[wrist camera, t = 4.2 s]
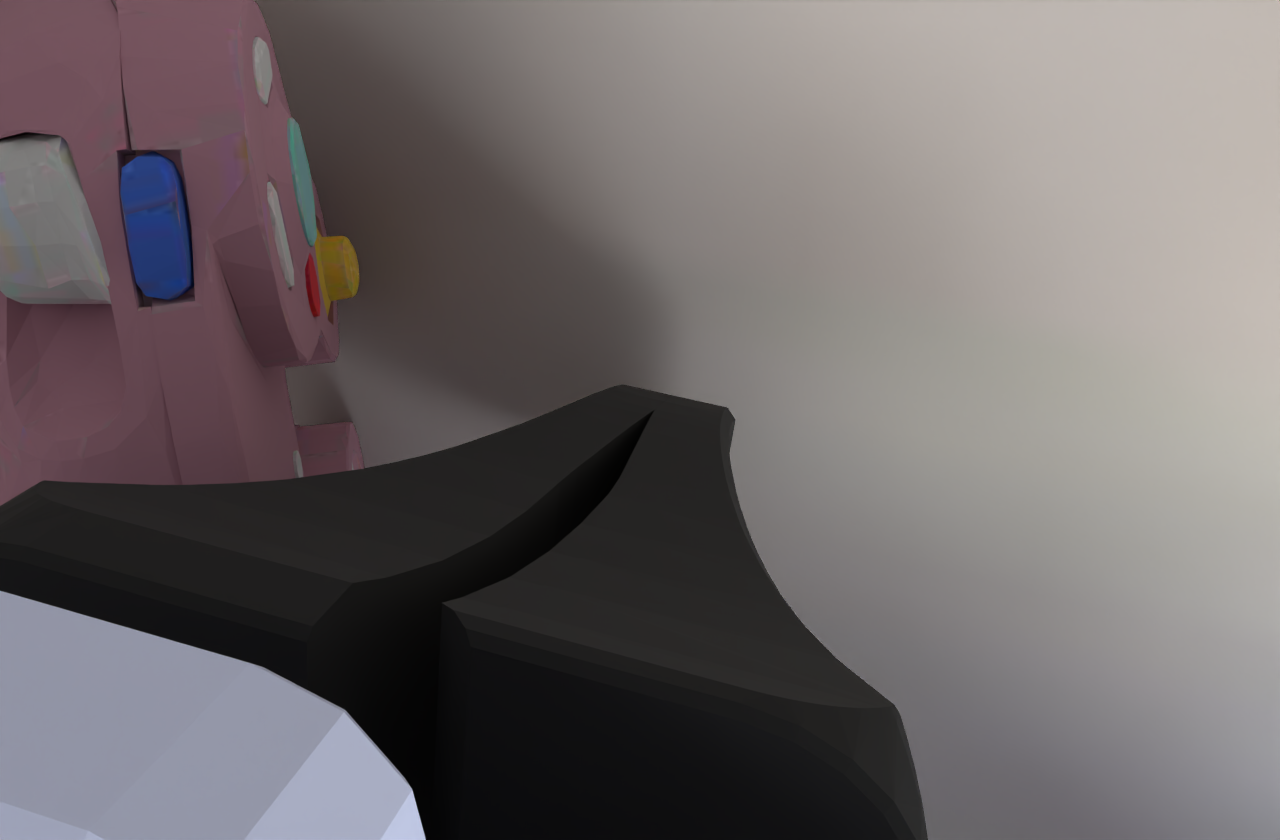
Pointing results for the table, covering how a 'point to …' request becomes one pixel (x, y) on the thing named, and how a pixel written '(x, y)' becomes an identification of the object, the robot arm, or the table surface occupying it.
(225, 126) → the video game controller
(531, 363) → the table surface
